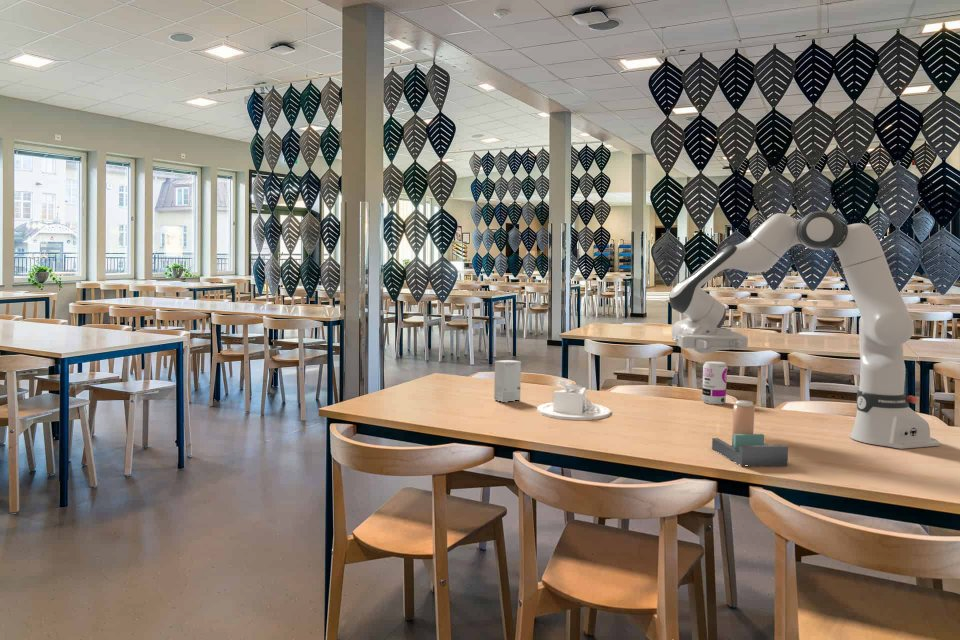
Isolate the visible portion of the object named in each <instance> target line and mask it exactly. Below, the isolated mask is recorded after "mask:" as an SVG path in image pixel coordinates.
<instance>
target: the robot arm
mask: <svg viewBox="0 0 960 640" xmlns="http://www.w3.org/2000/svg"><path fill="white" fill-rule="evenodd" d="M796 245H800V246H803V247H805V248H807V249H810V250H813V251H818V250H819V251H820V250H825V249H831V250H833V251H834V252H835V253H836V255H837V257H838V259H839V262H840V265H841V268H842V271H843V273H844V278H845V280H846V283H847V286H848V289H849V292H850V294H851V296H852V298H853V300H854V302H855V304H856V307H857V309H858V311H859V313H860V318H859V319H858V325H859V326H858V335H859V336H858V338H859V339H858V340H859V341H858V342H859V360H860V366H859V367H860V370H859V388H858V389H857V390H856V391H857V393H856V416H855V420H854V423H853V427H852V430H851V433H850V435H849V436H850V439H852V440H855V441H857V442H860V443H865V444H870V445H876V446H882V447H889V448H895V449H898V450H899V449H903V450H905V449H913V448H925V447H927V448H928V447H935V446H936V447H937V446H940V445H941V443H940V441H939V440H938V439H936V438H933V437H931V430H930V429H931V428H930V424H929V422H928V421H927V420H925V418H923V417H922V416H920V414H919V413H917V412H916V411H914V410H913V409H912V408H911V407H910V404H909V403H911V404H917V403H918V397H917V396H916V395H915V396H914V395H907V394H905V380H906V379H905V378H906V377H905V376H906V364H905V357H904V349H903V348H904V347H903V346H904V345H903V344H905V343H907V342H908V341H909V340H910V339H911V338H912V336H913V335H914V332H915V325H914V321H913V319H912V317H911V315H910V313H909V310H908V309H907V306H906V303H905V301H904V299H903V297H902V295H901V293H900V291H899V290H898V287H897V285H896V283H895V280H894V278H893V276H892V272H891V270H890V267H889V264H888V261H887V258H886V255H885V253H884V250H883V247H882V245H881V243H880V241H879V239H878V237H877V235H876V233H875V232H874V230H873V229H872V227H871V226H870V225H868V224H867V223H859V222H857V223H852V224H851V223H850V224H846V223H844V222H843V221H842V220H841V219H840V218H838V217H837V216H836V215H835V214H833V213H831V212H828V211H826V210H816V211H813V212H810V213H808V214H807V215H805V216H804V217H803V218H800V219H796V218H793V217H792V216H790V215H789V214H786V213H781V212H777V213H774V214H772V215H771V216H770V217H769V218H767V219H766V220H765V221H764V222H762V223H761V224H760V225H759V226H757V228H756V229H755V230H753V232H752V233H751V234H750V235H749V236H748V237H747V238H746V239H744V241H742V242H741V243H738V244H736V245H733V244H729V245H728V246H727V245H726V246H725V247H724V248H722V249H720V251H718V252H717V253H715V254H714V255H713V256H712V257H711V258H709V259H708V260H707V261H706V262H704V263H703V264H701V266H699V268H698V269H696V270H695V271H694V272H692V273H691V274H690V275H689V276H688V277H686V278H685V279H683V280H681V281H680V282H678V283H677V284H676V285H674V287H672V289H671V290H670V293H669V294H668V295H669V296H668V297H669V298H668V299H669V304H670V306H671V308H672V310H675V311H676V312H679V313H680V314H683V315H684V316H685V317H686V318H684V319H681V320H678V321H675V322H674V324H673V325H672V327H671V336H672V337H671V340H672V341H673V342H676V345H677V346H678V347H680V348H682V349H689V350H691V351H693V352H697V353H699V354H708V353H713V352H717V351H727V350H728V351H729V350H746V349H747V348H748V345H749V344H748V343H749V338H748V337H747V336H746V335H744V334H742V333H740V332H735V331H732V329H731V328H726V327H723V325H724V323H725V321H726V315H727V309H726V306H725V304H723V303H722V302H720V301H719V300H718V299H717V298H715V297H714V296H712V295H710V294H709V293H708V292H707V291H705V290H704V289H703V288H702V287H704V285H706V283H708V282H709V281H710V280H711V279H712V278H714V277H715V276H717V274H719V273H720V272H722V271H724V270H729V269H730V270H738V271H741V272H746V273H752V274H759V273H764V272H767V271H768V270H770V269H771V268H773V266H775V265H776V264H777V262H778V261H779V260H780V259H781V258H782V257H783V256H784V254H786V252H787V251H788V250H790V248H792V247H794V246H796Z"/></svg>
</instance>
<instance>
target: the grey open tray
mask: <svg viewBox="0 0 960 640" xmlns="http://www.w3.org/2000/svg"><path fill="white" fill-rule="evenodd" d="M711 441H712V442H711V450H713V451H715V452H716V451H717V452H716V453H718V452H719V453H718V454H720V453H721V454H722V455H721V454H720V455H721V456H723V455H724V456H726V457H728V458H729V459H731V460H733V461H734V462H736V463H738V464H740V465H741V466H745V465H748V466H768V467H788V464H789V462H788V461H789V446H788V445H786V444H768V443H767V442H764V445H747V446H740V447H739V450H738V449H736V448H735V447H733V446H732V444H729V443H727V442H726V441H724V440H722V439H720V438H718V437H712V440H711ZM724 456H723V457H724ZM726 457H725V458H726ZM728 458H727V459H728ZM729 459H728V460H729ZM731 460H730V461H731ZM733 461H732V462H733ZM734 462H733V463H734ZM736 463H735V464H736ZM738 464H737V465H738ZM741 466H740V467H741Z"/></svg>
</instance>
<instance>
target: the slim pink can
mask: <svg viewBox="0 0 960 640" xmlns="http://www.w3.org/2000/svg"><path fill="white" fill-rule="evenodd" d="M732 406H733V408H732V409H733V411H732V433H731V434H732V435H731V446H733V435H734V434H754V429H755V428H754V427H755V407H756V406H755V405H754V402H753V401H751V400H746V399H745V400H743V399H739V400H735V401H734V404H733V405H732Z"/></svg>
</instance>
